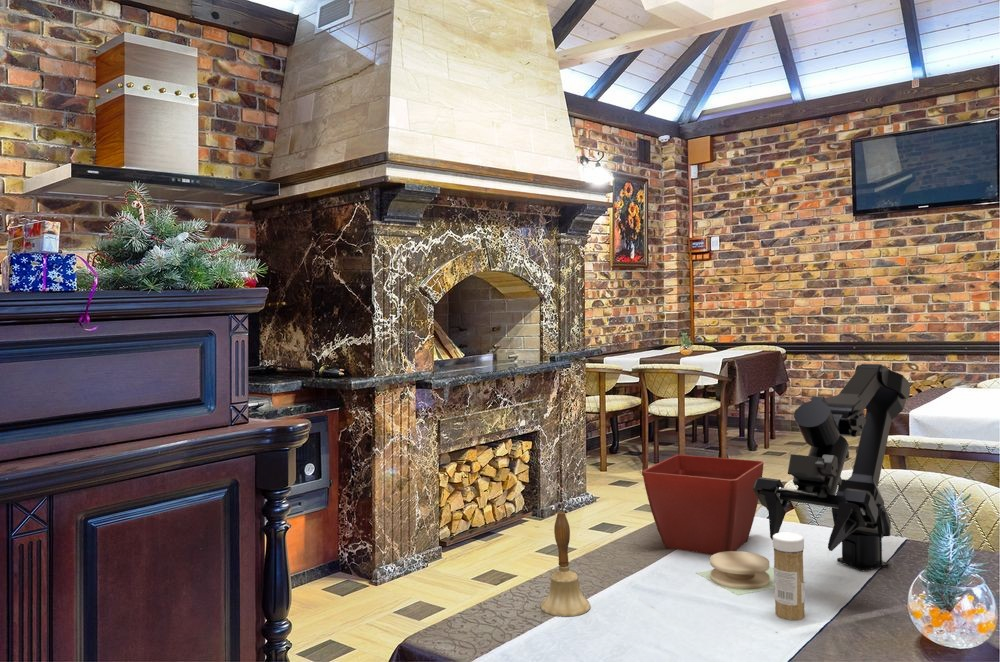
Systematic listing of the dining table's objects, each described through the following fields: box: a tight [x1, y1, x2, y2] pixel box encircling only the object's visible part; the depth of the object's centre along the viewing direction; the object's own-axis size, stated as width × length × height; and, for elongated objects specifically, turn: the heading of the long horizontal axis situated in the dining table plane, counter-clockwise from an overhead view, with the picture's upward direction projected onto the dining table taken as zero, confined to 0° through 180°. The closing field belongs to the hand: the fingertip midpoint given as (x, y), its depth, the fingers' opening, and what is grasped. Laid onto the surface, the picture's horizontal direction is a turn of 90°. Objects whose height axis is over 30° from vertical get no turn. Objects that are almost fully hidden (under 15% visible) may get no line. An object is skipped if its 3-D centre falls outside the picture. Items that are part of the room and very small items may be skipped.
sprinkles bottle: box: [772, 531, 806, 621], centre depth 122 cm, size 5×5×14 cm
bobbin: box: [709, 550, 771, 590], centre depth 138 cm, size 10×10×3 cm
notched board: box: [695, 566, 806, 596], centre depth 139 cm, size 14×12×1 cm
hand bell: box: [540, 511, 591, 618], centre depth 130 cm, size 8×8×16 cm
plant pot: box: [642, 454, 765, 556], centre depth 159 cm, size 19×19×17 cm
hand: (800, 544), depth 125 cm, fingers open, 9 cm apart
